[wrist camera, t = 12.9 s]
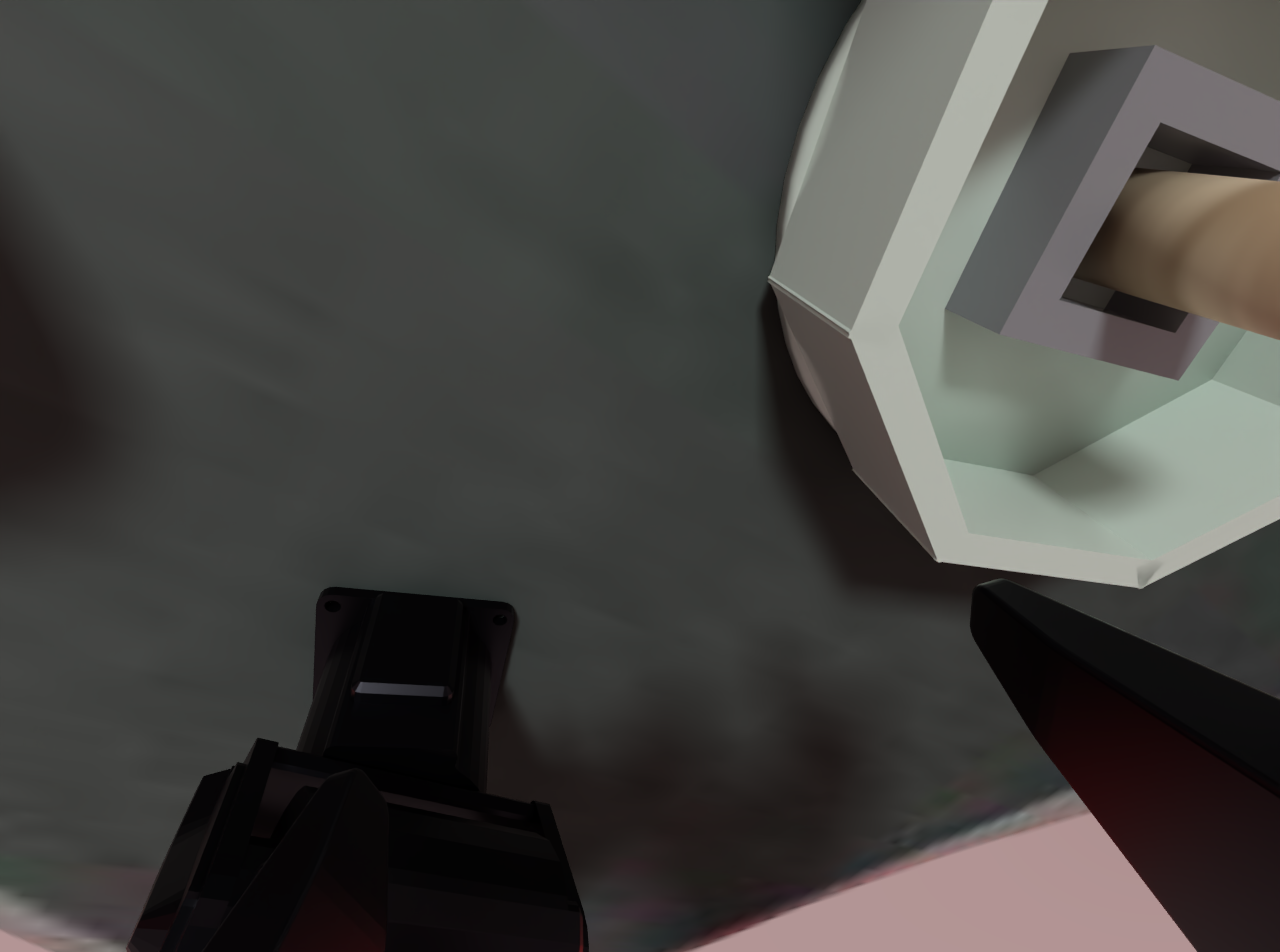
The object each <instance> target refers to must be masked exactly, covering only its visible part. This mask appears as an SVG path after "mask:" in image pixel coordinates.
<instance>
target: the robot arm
mask: <svg viewBox="0 0 1280 952" xmlns="http://www.w3.org/2000/svg"><path fill="white" fill-rule="evenodd" d="M329 601H337V602H338V603H339V604H332V603H330V602H329ZM496 615H504V617H502V618H498V617H495V616H496ZM513 623H514V609H513V607H512V606H511V605H509V604H508V603H505V602H498V601H487V600H476V599H464V598H453V597H442V596H431V595H420V594H409V593H397V592H386V591H375V590H364V589H353V588H342V587H330V588H327V589H324V590H323V591H322V592H321V594H320V596H319V599H318V601H317V604H316V627H315V655H314V682H313V702H312V705H311V708H310V711H309V714H308V717H307V720H306V723H305V726H304V728H303V731H302V734H301V737H300V740H299V743H298V746H297V749H296V750H292V749H288V748H283V747H279V746H278V743H279V742H274V741H270V740H265V739H261V738H257V739H256V741H255V743H254V745H253V746H252V748H251V750H250V752H249V754H248V756H247V757H246V759H245V761H244V763H239V762H237V764H236V765H235V766H232V768H231V769H228V770H225V771H221V772H217V773H214V774H210V775H206V776H203V778H202V780H201V782H200V784H199V786H198V788H197V790H196V792H195V794H194V796H193V798H192V801H191V803H190V805H189V807H188V809H187V811H186V813H185V816H184V818H183V820H182V822H181V824H180V826H179V828H178V831H177V833H176V835H175V837H174V839H173V841H172V844H171V846H170V848H169V850H168V852H167V854H166V857H165V859H164V861H163V863H162V866H161V868H160V870H159V872H158V875H157V877H156V879H155V882H154V884H153V886H152V889H151V891H150V893H149V896H148V898H147V900H146V903H145V905H144V907H143V910H142V912H141V914H140V917H139V919H138V921H137V924H136V926H135V928H134V930H133V933H132V935H131V937H130V940H129V942H128V944H127V947H126V950H127V952H589V943H588V931H587V924H586V920H585V915H584V911H583V908H582V905H581V901H580V898H579V895H578V892H577V889H576V886H575V882H574V879H573V876H572V873H571V870H570V867H569V864H568V860H567V857H566V854H565V851H564V848H563V845H562V841H561V838H560V835H559V832H558V829H557V826H556V822H555V819H554V816H553V813H552V810H551V807H550V805H549V804H546V803H542V802H537V801H532V802H531V803H527V802H523V801H518V800H514V799H509V798H505V797H500V796H496V795H492V794H487V793H486V788H487V765H488V742H489V727H490V725H491V721H492V717H493V712H494V708H495V704H496V699H497V695H498V690H499V686H500V681H501V677H502V672H503V668H504V663H505V659H506V655H507V650H508V646H509V641H510V637H511V632H512V628H513ZM970 629H971V633H972V636H973V638H974V640H975V642H976V644H977V646H978V647H979V649H980V650H981V652H982V654H983V655H984V657H985V659H986V660H987V662H988V663H989V665H990V667H991V668H992V670H993V672H994V673H995V675H996V676H997V678H998V680H999V681H1000V683H1001V685H1002V686H1003V688H1004V690H1005V691H1006V693H1007V694H1008V696H1009V698H1010V699H1011V701H1012V703H1013V704H1014V706H1015V707H1016V709H1017V711H1018V712H1019V714H1020V716H1021V717H1022V719H1023V720H1024V722H1025V724H1026V725H1027V727H1028V728H1029V730H1030V731H1031V733H1032V734H1033V736H1034V737H1035V739H1036V740H1037V742H1038V743H1039V744H1040V746H1041V747H1042V748H1043V750H1044V751H1045V753H1046V754H1047V755H1048V756H1049V758H1050V759H1051V760H1052V762H1053V763H1054V764H1055V766H1056V767H1057V768H1058V770H1059V771H1060V772H1061V774H1062V775H1063V776H1064V777H1065V779H1066V780H1067V781H1068V783H1069V784H1070V785H1071V787H1072V788H1073V789H1074V791H1075V792H1076V793H1077V795H1078V796H1079V797H1080V798H1081V800H1082V801H1083V802H1084V804H1085V805H1086V806H1087V808H1088V809H1089V810H1090V812H1091V813H1092V814H1093V815H1094V817H1095V818H1096V819H1097V821H1098V822H1099V823H1100V825H1101V826H1102V827H1103V829H1104V830H1105V831H1106V833H1107V834H1108V835H1109V837H1110V838H1111V839H1112V840H1113V842H1114V843H1115V844H1116V846H1117V847H1118V848H1119V850H1120V851H1121V852H1122V854H1123V855H1124V856H1125V858H1126V859H1127V860H1128V861H1129V863H1130V864H1131V865H1132V867H1133V868H1134V869H1135V871H1136V872H1137V873H1138V875H1139V876H1140V877H1141V879H1142V880H1143V881H1144V882H1145V884H1146V885H1147V886H1148V888H1149V889H1150V890H1151V892H1152V893H1153V894H1154V896H1155V897H1156V898H1157V899H1158V901H1159V902H1160V903H1161V905H1162V906H1163V907H1164V909H1165V910H1166V911H1167V913H1168V914H1169V915H1170V917H1171V918H1172V919H1173V921H1174V922H1175V923H1176V924H1177V926H1178V927H1179V928H1180V930H1181V931H1182V932H1183V934H1184V935H1185V936H1186V938H1187V939H1188V940H1189V942H1190V943H1191V944H1192V945H1193V947H1194V948H1195V949H1196V951H1197V952H1280V699H1279V698H1276V697H1274V696H1272V695H1270V694H1267V693H1265V692H1263V691H1261V690H1258V689H1256V688H1254V687H1251V686H1249V685H1247V684H1245V683H1242V682H1240V681H1238V680H1235V679H1233V678H1231V677H1229V676H1226V675H1224V674H1222V673H1220V672H1217V671H1215V670H1213V669H1210V668H1208V667H1206V666H1204V665H1201V664H1199V663H1197V662H1194V661H1192V660H1190V659H1188V658H1185V657H1183V656H1181V655H1179V654H1176V653H1174V652H1172V651H1169V650H1167V649H1165V648H1163V647H1160V646H1158V645H1156V644H1153V643H1151V642H1149V641H1147V640H1144V639H1142V638H1140V637H1138V636H1135V635H1133V634H1131V633H1128V632H1126V631H1124V630H1122V629H1119V628H1117V627H1115V626H1112V625H1110V624H1108V623H1106V622H1103V621H1101V620H1099V619H1097V618H1094V617H1092V616H1090V615H1087V614H1085V613H1083V612H1081V611H1078V610H1076V609H1074V608H1071V607H1069V606H1067V605H1065V604H1062V603H1060V602H1058V601H1056V600H1053V599H1051V598H1049V597H1046V596H1044V595H1042V594H1040V593H1037V592H1035V591H1033V590H1030V589H1028V588H1026V587H1024V586H1021V585H1019V584H1017V583H1015V582H1012V581H1010V580H1007V579H996V580H992V581H989V582H986V583H982V584H979V585H977V586H976V587H975V588H974V590H973V593H972V604H971V617H970Z"/></svg>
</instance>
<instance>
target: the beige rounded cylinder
mask: <svg viewBox="0 0 1280 952" xmlns="http://www.w3.org/2000/svg"><path fill="white" fill-rule="evenodd" d="M1073 278H1076V279H1080V280H1083V281H1086V282H1090V283H1093V284H1096V285H1099V286H1103V287H1106V288H1109V289H1113V290H1116V291H1119V292H1122V293H1126V294H1129V295H1132V296H1136V297H1139V298H1142V299H1146V300H1149V301H1152V302H1155V303H1159V304H1162V305H1165V306H1169V307H1172V308H1175V309H1178V310H1182V311H1185V312H1188V313H1192V314H1195V315H1198V316H1201V317H1205V318H1208V319H1211V320H1215V321H1218V322H1221V323H1224V324H1228V325H1231V326H1234V327H1238V328H1241V329H1244V330H1247V331H1251V332H1254V333H1257V334H1261V335H1264V336H1267V337H1270V338H1274V339H1277V340H1280V181H1270V180H1260V179H1249V178H1239V177H1229V176H1218V175H1208V174H1197V173H1187V172H1177V171H1166V170H1156V169H1146V168H1134V170H1133V172H1132V173H1131V175H1130V177H1129V179H1128V180H1127V182H1126V184H1125V186H1124V187H1123V189H1122V191H1121V193H1120V195H1119V196H1118V198H1117V200H1116V202H1115V203H1114V205H1113V207H1112V209H1111V210H1110V212H1109V214H1108V216H1107V217H1106V219H1105V221H1104V223H1103V224H1102V226H1101V228H1100V230H1099V231H1098V233H1097V235H1096V237H1095V238H1094V240H1093V242H1092V244H1091V245H1090V247H1089V249H1088V251H1087V252H1086V254H1085V256H1084V258H1083V260H1082V261H1081V263H1080V265H1079V267H1078V268H1077V270H1076V272H1075V274H1074V275H1073Z"/></svg>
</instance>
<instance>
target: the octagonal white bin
mask: <svg viewBox="0 0 1280 952" xmlns="http://www.w3.org/2000/svg"><path fill="white" fill-rule="evenodd" d="M1134 168H1146V169H1156V170H1166V171H1177V172H1187V173H1197V174H1208V175H1218V176H1229V177H1239V178H1249V179H1260V180H1270V181H1280V0H862V1H861V2H860V4H859V5H858V7H857V8H856V10H855V11H854V13H853V14H852V16H851V17H850V19H849V20H848V22H847V24H846V25H845V27H844V29H843V31H842V33H841V35H840V37H839V38H838V40H837V42H836V44H835V46H834V48H833V50H832V52H831V54H830V56H829V58H828V60H827V62H826V63H825V65H824V67H823V69H822V71H821V73H820V75H819V77H818V80H817V82H816V85H815V87H814V90H813V92H812V95H811V97H810V100H809V102H808V105H807V107H806V110H805V112H804V115H803V117H802V120H801V122H800V125H799V128H798V131H797V135H796V138H795V142H794V145H793V149H792V153H791V156H790V160H789V163H788V167H787V170H786V174H785V178H784V184H783V190H782V196H781V202H780V208H779V214H778V220H777V233H776V254H775V262H774V265H773V268H772V271H771V274H770V276H768V282H769V283H770V284H771V286H772V288H773V290H774V292H775V295H776V297H777V303H778V311H779V316H780V320H781V325H782V330H783V334H784V339H785V344H786V346H787V349H788V352H789V355H790V357H791V360H792V363H793V365H794V368H795V371H796V373H797V376H798V378H799V380H800V381H801V383H802V385H803V387H804V388H805V390H806V392H807V394H808V396H809V397H810V399H811V401H812V403H813V404H814V405H815V407H816V408H817V409H818V410H819V412H820V413H821V414H822V415H823V417H824V418H825V419H826V420H827V422H828V423H829V424H830V425H831V427H832V428H833V429H834V430H835V431H836V432H837V434H838V436H839V438H840V440H841V443H842V445H843V447H844V449H845V452H846V454H847V456H848V458H849V460H850V463H851V465H852V467H853V469H852V471H853V472H854V473H855V474H856V475H857V476H858V477H859V478H860V479H861V480H862V481H863V483H864V484H865V485H866V486H867V487H868V488H869V489H870V490H871V491H872V492H873V493H874V494H875V496H876V497H877V498H878V499H879V500H880V501H881V502H882V503H883V504H884V505H885V506H886V508H887V509H888V510H889V511H890V512H891V513H892V514H893V515H894V516H895V517H896V518H897V519H898V521H899V522H900V523H901V524H902V525H903V526H904V527H905V528H906V529H907V530H908V531H909V533H910V534H911V535H912V536H913V537H914V538H915V539H916V540H917V541H918V542H919V543H920V544H921V546H922V547H923V548H924V549H925V550H926V551H927V552H928V553H929V554H930V555H931V556H932V558H933V559H934V560H935V561H937V562H938V563H940V562H946V563H954V564H961V565H969V566H977V567H984V568H992V569H999V570H1007V571H1015V572H1022V573H1030V574H1038V575H1045V576H1053V577H1060V578H1068V579H1076V580H1083V581H1091V582H1099V583H1106V584H1114V585H1121V586H1129V587H1137V588H1138V589H1140V588H1144V587H1145V586H1146V585H1148V584H1150V583H1152V582H1154V581H1156V580H1158V579H1160V578H1162V577H1164V576H1166V575H1168V574H1170V573H1172V572H1174V571H1176V570H1178V569H1180V568H1182V567H1184V566H1186V565H1188V564H1190V563H1192V562H1194V561H1196V560H1198V559H1200V558H1202V557H1204V556H1206V555H1208V554H1210V553H1212V552H1214V551H1216V550H1218V549H1220V548H1222V547H1224V546H1226V545H1228V544H1230V543H1232V542H1234V541H1236V540H1238V539H1240V538H1242V537H1244V536H1246V535H1248V534H1250V533H1252V532H1254V531H1256V530H1258V529H1260V528H1262V527H1264V526H1266V525H1268V524H1270V523H1272V522H1274V521H1276V520H1278V519H1280V340H1277V339H1274V338H1270V337H1267V336H1264V335H1261V334H1257V333H1254V332H1251V331H1247V330H1244V329H1241V328H1238V327H1234V326H1231V325H1228V324H1224V323H1221V322H1218V321H1215V320H1211V319H1208V318H1205V317H1201V316H1198V315H1195V314H1192V313H1188V312H1185V311H1182V310H1178V309H1175V308H1172V307H1169V306H1165V305H1162V304H1159V303H1155V302H1152V301H1149V300H1146V299H1142V298H1139V297H1136V296H1132V295H1129V294H1126V293H1122V292H1119V291H1116V290H1113V289H1109V288H1106V287H1103V286H1099V285H1096V284H1093V283H1090V282H1086V281H1083V280H1080V279H1076V278H1073V275H1074V274H1075V272H1076V270H1077V268H1078V267H1079V265H1080V263H1081V261H1082V260H1083V258H1084V256H1085V254H1086V252H1087V251H1088V249H1089V247H1090V245H1091V244H1092V242H1093V240H1094V238H1095V237H1096V235H1097V233H1098V231H1099V230H1100V228H1101V226H1102V224H1103V223H1104V221H1105V219H1106V217H1107V216H1108V214H1109V212H1110V210H1111V209H1112V207H1113V205H1114V203H1115V202H1116V200H1117V198H1118V196H1119V195H1120V193H1121V191H1122V189H1123V187H1124V186H1125V184H1126V182H1127V180H1128V179H1129V177H1130V175H1131V173H1132V172H1133V170H1134Z"/></svg>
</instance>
